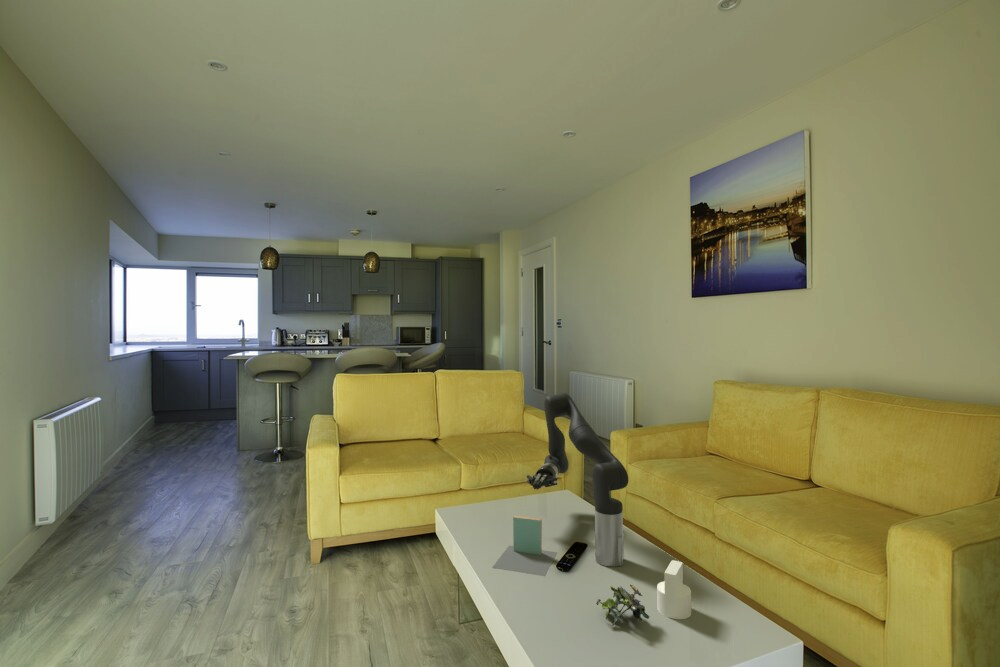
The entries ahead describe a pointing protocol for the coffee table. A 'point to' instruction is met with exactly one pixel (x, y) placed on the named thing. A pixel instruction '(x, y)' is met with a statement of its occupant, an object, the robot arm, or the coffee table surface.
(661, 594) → the cylinder with rectangular tab
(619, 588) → the passion flower
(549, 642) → the coffee table surface
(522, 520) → the tile
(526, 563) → the mat
